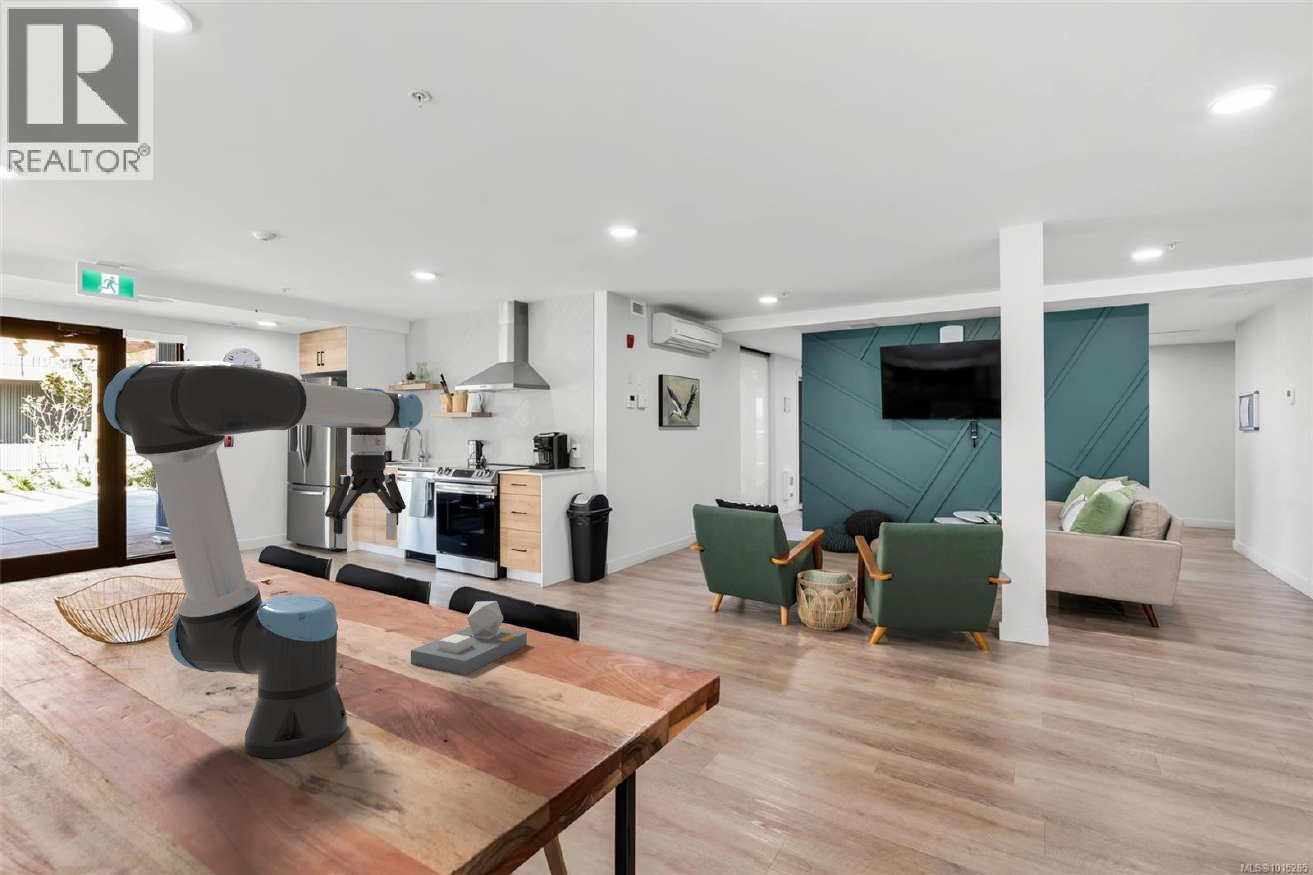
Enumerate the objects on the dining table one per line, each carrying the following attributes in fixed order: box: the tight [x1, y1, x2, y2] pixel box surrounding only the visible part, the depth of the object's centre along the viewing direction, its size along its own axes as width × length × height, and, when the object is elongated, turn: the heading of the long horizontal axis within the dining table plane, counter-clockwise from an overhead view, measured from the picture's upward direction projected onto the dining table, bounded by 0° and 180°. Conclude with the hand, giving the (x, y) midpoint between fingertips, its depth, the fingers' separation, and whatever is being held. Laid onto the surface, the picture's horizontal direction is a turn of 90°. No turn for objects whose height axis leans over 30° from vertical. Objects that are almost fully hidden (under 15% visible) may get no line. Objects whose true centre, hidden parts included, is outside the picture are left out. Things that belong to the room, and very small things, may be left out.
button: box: [439, 633, 471, 654], centre depth 142 cm, size 5×5×3 cm
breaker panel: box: [410, 626, 528, 676], centre depth 147 cm, size 22×16×3 cm
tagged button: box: [472, 632, 501, 640], centre depth 152 cm, size 5×5×3 cm
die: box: [466, 600, 504, 636], centre depth 152 cm, size 8×9×10 cm
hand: (367, 543), depth 145 cm, fingers open, 13 cm apart
